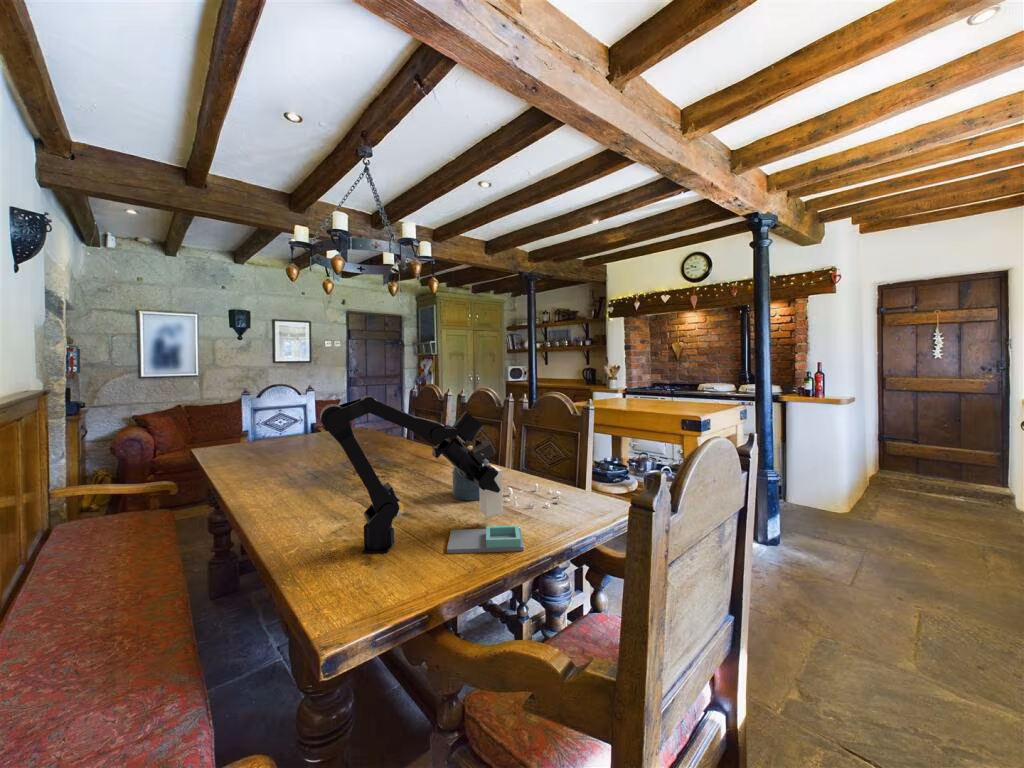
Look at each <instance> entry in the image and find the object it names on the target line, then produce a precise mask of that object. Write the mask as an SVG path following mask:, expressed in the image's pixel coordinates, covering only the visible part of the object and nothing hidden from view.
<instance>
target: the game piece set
mask: <svg viewBox="0 0 1024 768" xmlns="http://www.w3.org/2000/svg"><path fill="white" fill-rule="evenodd" d="M538 489H539V484H538V483H534V491H535V492H538ZM524 490H525V487H523V488H522V490H519V493H524ZM506 492H507V493H508V494H509V495H508V498H507V497H506V498H504V502H505V503H506V502H508V503H509V502H511V499H510V497H512V496H513V494H514V492H513V489H512V488H511V487H508V488H506ZM547 492H548V493H547V494H549V495H552V493H553V491H552V490H551V489H549V490H548V491H547ZM555 492H556V497H555V498H556V499H552V502H553V503H554V504H559V503H560V502H561V499H562V497H561V492H560V491H555ZM513 499H514V501H513V503H511V506H512V507H515V508H517V507H519V503H518V501H517V499H518V498H517V496H516V495H514V497H513ZM534 502H536V500H535V499H533V500H532V501H531V502H529V503H528V501H526V506H525V508H528V509H533V508H534V507H535V506H536V504H533V503H534ZM544 508H545V509H550V508H551V505H550V502H549V501H546V502H545V503H544Z"/></svg>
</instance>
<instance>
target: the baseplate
mask: <svg viewBox="0 0 1024 768" xmlns="http://www.w3.org/2000/svg"><path fill="white" fill-rule="evenodd" d="M503 552H505V553H507V552H524V542H523V536H522V531H521V527H519V525H494V526H493V525H492V526H490V525H489V526H488V525H487V526H486V527H485V528H478V529H477V528H475V529H473V528H469V529H468V528H467V529H451V530H450V534H449V538H448V543H447V546H446V554H470V553H472V554H473V553H503Z"/></svg>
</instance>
